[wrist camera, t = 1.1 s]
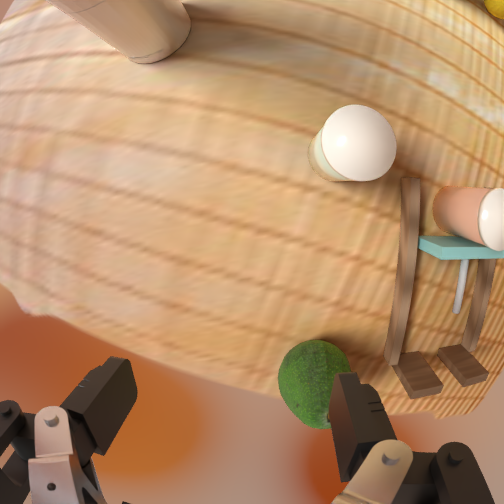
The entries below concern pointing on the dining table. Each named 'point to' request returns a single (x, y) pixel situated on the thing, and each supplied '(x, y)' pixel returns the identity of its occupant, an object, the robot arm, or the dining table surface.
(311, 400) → the fruit
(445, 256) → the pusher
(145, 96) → the dining table surface
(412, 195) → the lane
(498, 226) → the jar
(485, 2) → the lemon
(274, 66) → the dining table surface
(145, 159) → the dining table surface
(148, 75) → the dining table surface
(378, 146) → the sage jar
